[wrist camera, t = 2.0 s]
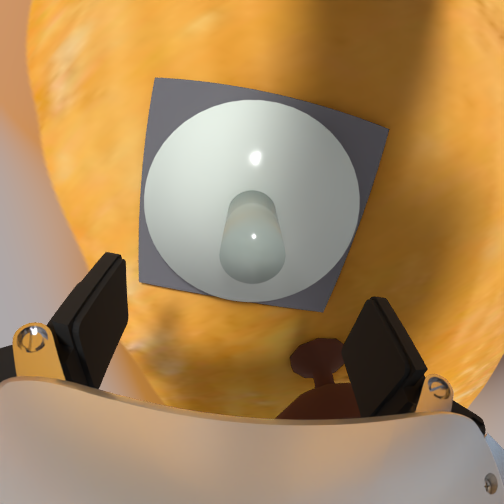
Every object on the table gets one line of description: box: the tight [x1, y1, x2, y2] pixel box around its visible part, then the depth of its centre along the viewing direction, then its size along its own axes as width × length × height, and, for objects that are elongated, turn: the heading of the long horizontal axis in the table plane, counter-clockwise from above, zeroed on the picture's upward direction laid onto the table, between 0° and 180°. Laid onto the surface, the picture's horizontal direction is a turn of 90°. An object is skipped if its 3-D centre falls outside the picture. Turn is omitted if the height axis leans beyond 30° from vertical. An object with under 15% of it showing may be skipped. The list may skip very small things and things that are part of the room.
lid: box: [144, 100, 360, 302], centre depth 15 cm, size 13×13×6 cm
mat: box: [139, 78, 389, 312], centre depth 17 cm, size 14×14×1 cm
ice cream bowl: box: [275, 338, 361, 420], centre depth 18 cm, size 11×11×15 cm
